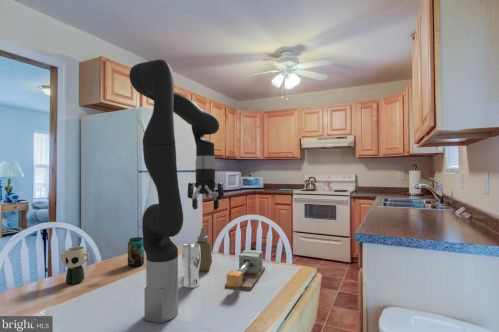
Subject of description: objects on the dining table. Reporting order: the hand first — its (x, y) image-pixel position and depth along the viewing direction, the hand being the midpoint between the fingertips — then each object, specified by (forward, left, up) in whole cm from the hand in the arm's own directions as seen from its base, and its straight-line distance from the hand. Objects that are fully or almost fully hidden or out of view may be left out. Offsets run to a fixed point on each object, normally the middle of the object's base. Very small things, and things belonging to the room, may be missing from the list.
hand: (205, 209), depth 111 cm
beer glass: (-4, +4, -28) cm, 29 cm away
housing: (+8, -14, -28) cm, 33 cm away
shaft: (+3, -14, -25) cm, 29 cm away
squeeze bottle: (+12, +7, -28) cm, 32 cm away
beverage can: (+9, +39, -28) cm, 49 cm away
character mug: (-14, +49, -28) cm, 58 cm away
